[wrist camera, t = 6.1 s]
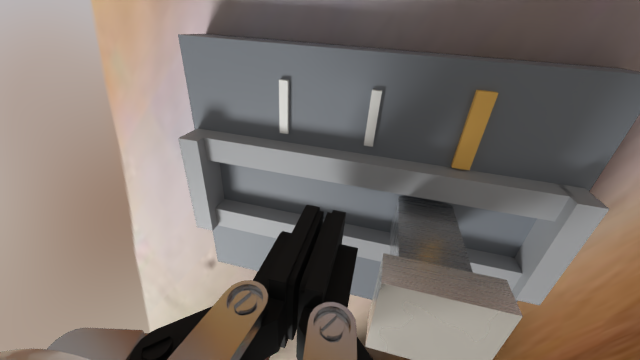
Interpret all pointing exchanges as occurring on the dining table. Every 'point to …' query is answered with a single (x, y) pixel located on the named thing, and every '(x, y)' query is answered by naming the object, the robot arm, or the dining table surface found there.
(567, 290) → the dining table surface
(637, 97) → the console
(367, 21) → the dining table surface
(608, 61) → the dining table surface
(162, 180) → the dining table surface
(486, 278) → the fader tab
